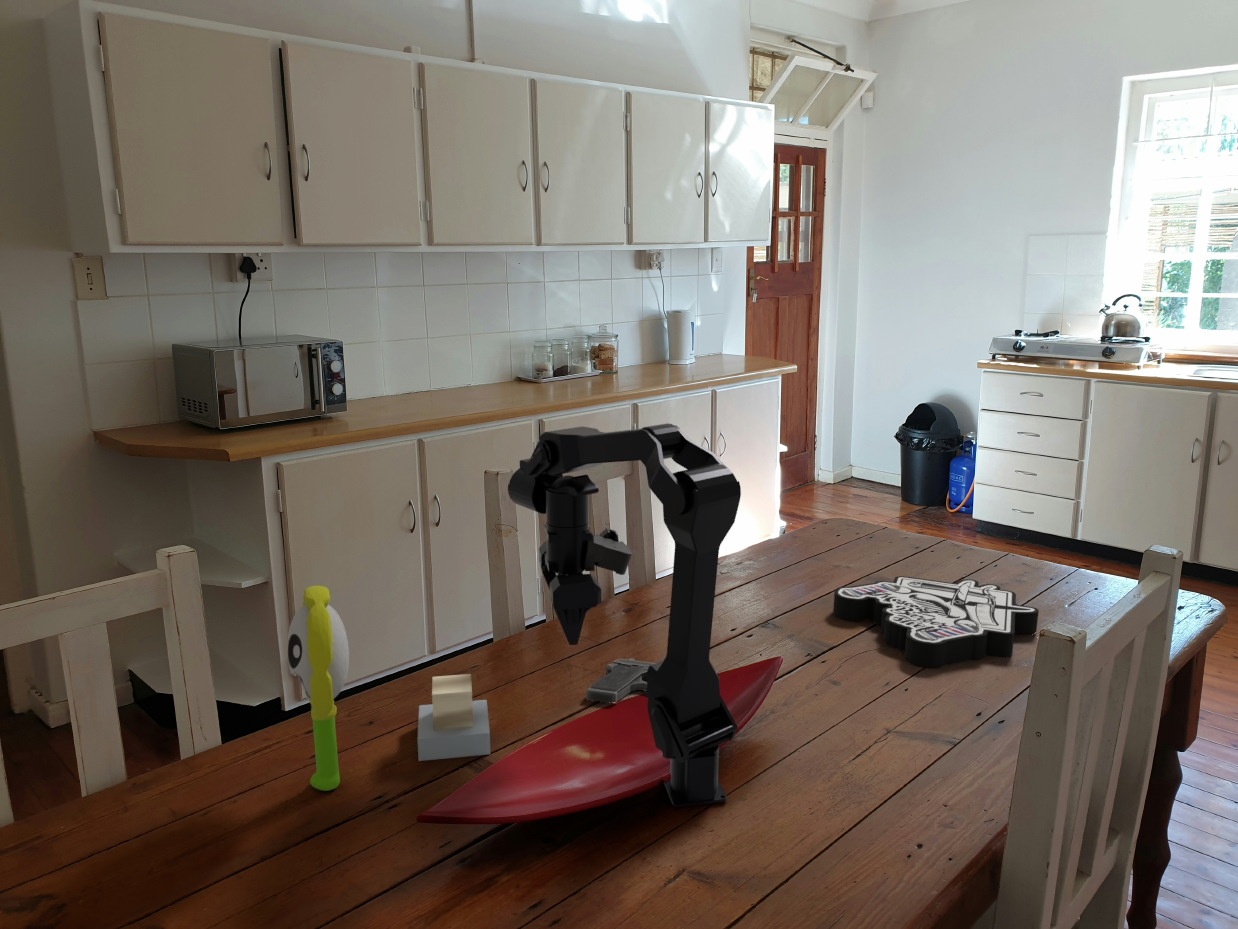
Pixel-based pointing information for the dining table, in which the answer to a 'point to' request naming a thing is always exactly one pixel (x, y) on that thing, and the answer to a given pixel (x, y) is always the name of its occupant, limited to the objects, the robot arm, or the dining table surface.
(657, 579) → the dining table surface
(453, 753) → the base
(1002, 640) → the decorative sign
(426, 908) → the dining table surface
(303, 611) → the toy
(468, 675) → the cube
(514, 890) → the dining table surface
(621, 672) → the handgun
